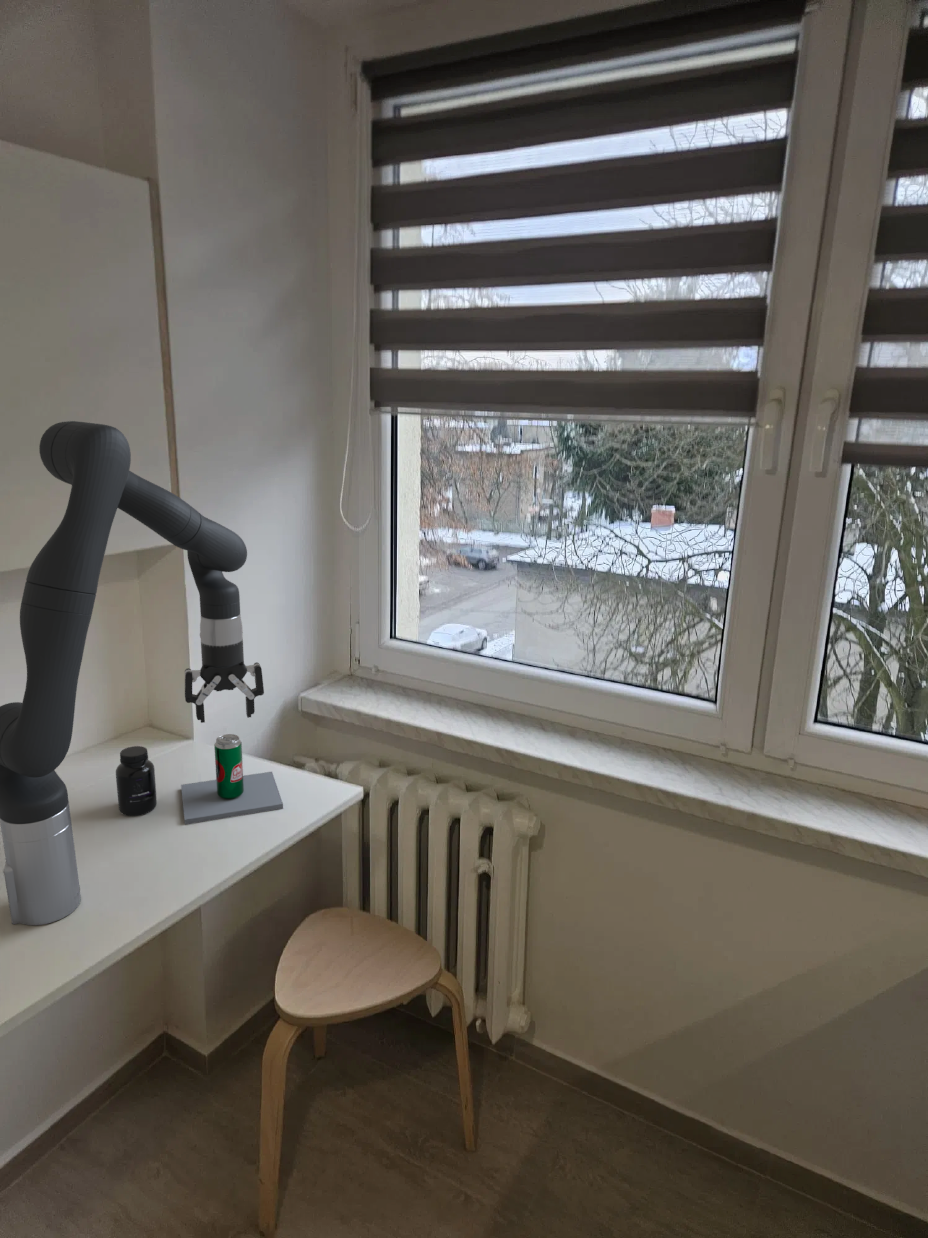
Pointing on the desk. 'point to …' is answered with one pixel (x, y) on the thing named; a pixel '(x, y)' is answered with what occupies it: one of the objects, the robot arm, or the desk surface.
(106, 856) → the desk surface
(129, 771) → the supplement bottle
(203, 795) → the slate gray mat
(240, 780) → the soda can
